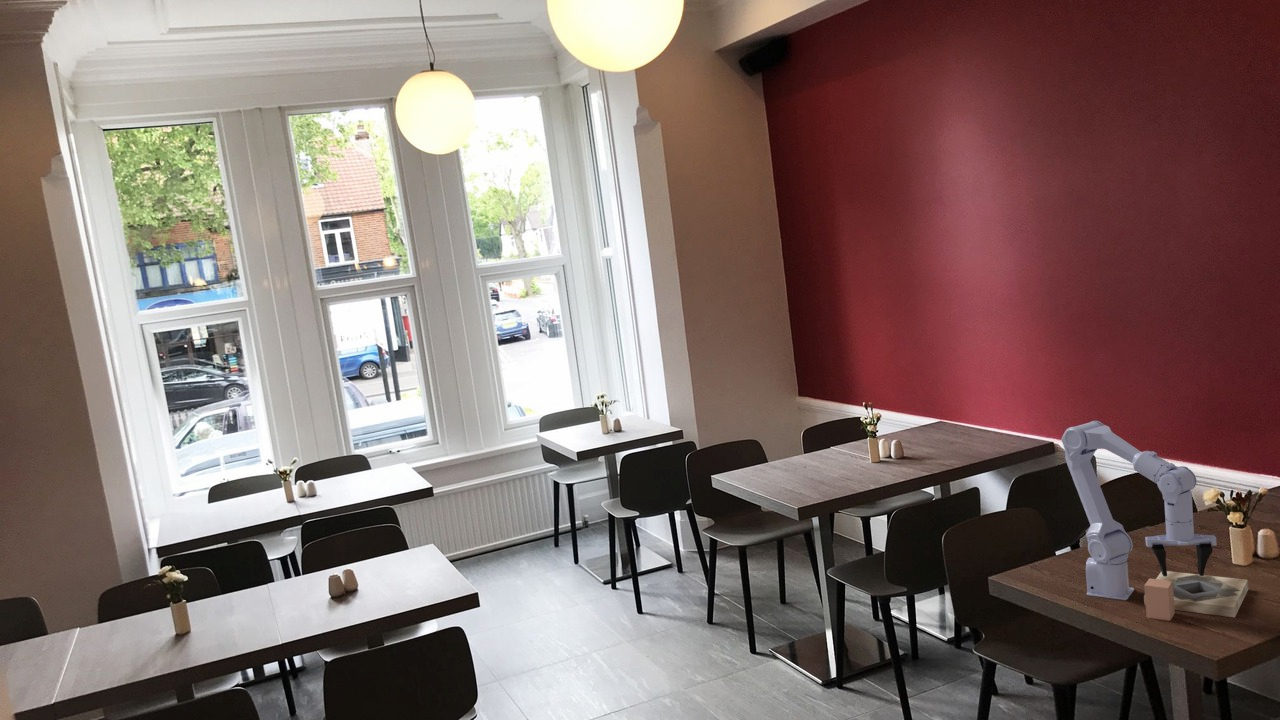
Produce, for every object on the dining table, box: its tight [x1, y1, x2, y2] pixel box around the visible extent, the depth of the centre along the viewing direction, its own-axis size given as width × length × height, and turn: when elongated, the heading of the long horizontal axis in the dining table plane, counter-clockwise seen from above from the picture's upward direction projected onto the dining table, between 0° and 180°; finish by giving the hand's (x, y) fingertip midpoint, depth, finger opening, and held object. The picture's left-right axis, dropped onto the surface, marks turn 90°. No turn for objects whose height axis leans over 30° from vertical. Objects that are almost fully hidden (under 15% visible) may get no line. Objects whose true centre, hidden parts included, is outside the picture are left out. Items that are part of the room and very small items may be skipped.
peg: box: [1143, 578, 1176, 622], centre depth 227 cm, size 5×5×8 cm
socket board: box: [1143, 570, 1249, 618], centre depth 234 cm, size 19×19×2 cm
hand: (1182, 574), depth 226 cm, fingers open, 7 cm apart
